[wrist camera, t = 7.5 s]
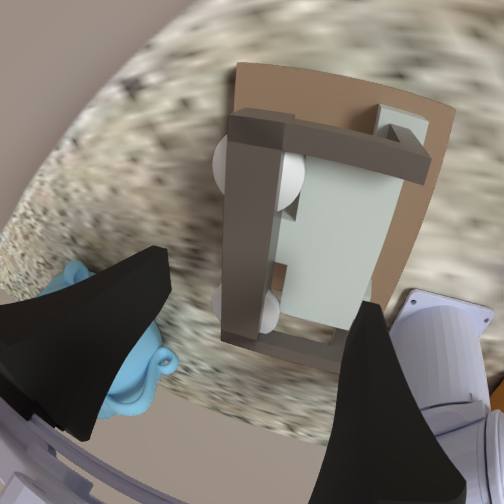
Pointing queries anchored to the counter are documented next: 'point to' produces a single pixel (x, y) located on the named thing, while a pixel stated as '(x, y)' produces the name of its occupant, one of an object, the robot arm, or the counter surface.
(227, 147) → the bracket with white balls
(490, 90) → the counter surface
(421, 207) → the tan board with cubes
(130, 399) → the decorative pot
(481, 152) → the counter surface
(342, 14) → the counter surface
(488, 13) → the counter surface
